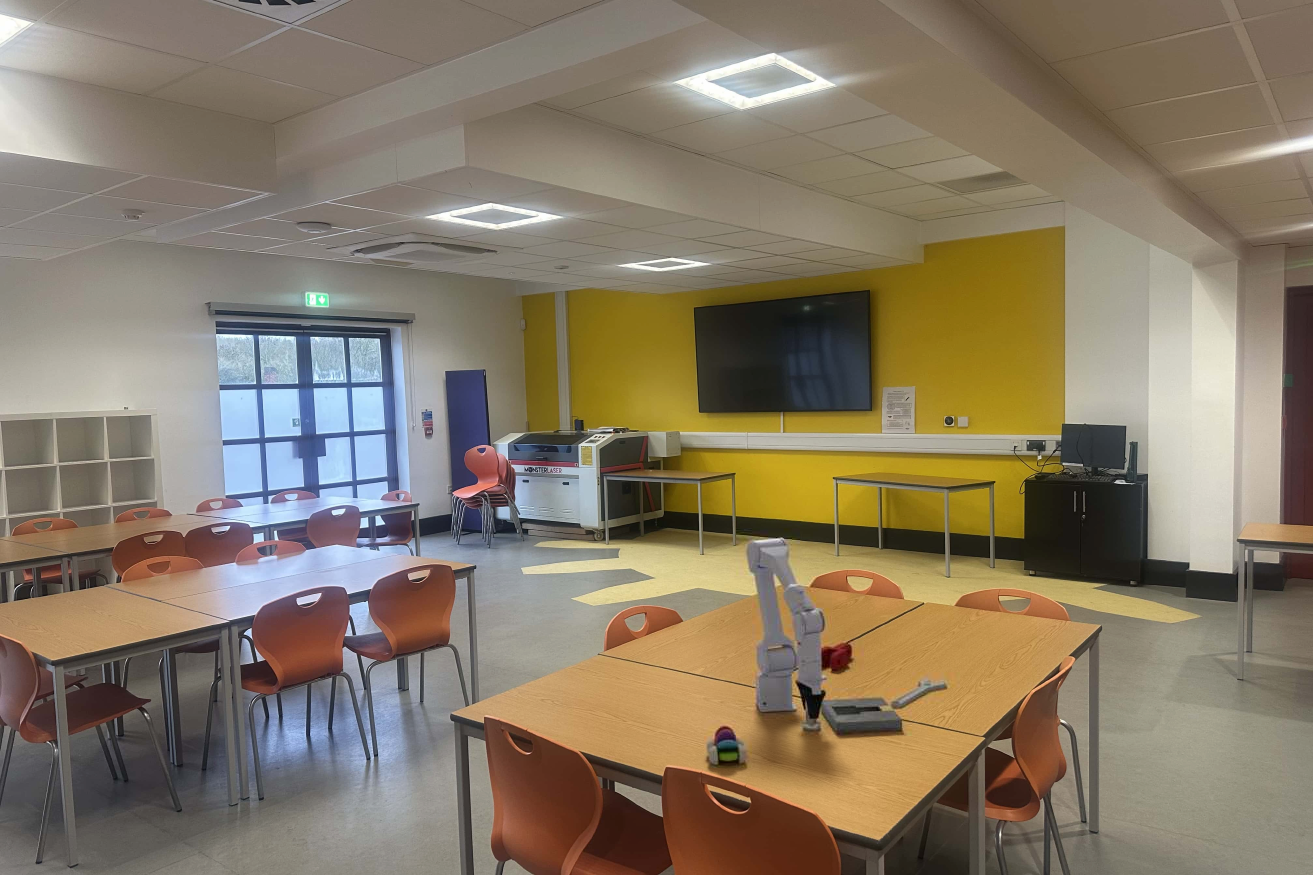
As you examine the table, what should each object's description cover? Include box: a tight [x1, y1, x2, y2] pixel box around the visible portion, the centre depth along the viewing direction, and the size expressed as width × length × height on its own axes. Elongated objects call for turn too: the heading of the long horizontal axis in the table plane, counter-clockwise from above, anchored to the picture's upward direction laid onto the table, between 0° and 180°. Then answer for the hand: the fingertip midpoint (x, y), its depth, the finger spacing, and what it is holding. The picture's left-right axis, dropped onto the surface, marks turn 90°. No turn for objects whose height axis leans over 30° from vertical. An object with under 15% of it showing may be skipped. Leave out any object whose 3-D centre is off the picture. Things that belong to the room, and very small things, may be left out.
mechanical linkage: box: [821, 642, 853, 672], centre depth 263 cm, size 16×7×5 cm, turn 141°
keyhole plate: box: [820, 696, 903, 735], centre depth 215 cm, size 16×16×3 cm
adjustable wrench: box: [890, 677, 947, 709], centre depth 233 cm, size 25×6×2 cm, turn 131°
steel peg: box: [801, 700, 822, 732], centre depth 211 cm, size 4×4×8 cm
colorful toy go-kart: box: [706, 725, 748, 766], centre depth 194 cm, size 8×10×7 cm
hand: (811, 713), depth 211 cm, fingers open, 5 cm apart
